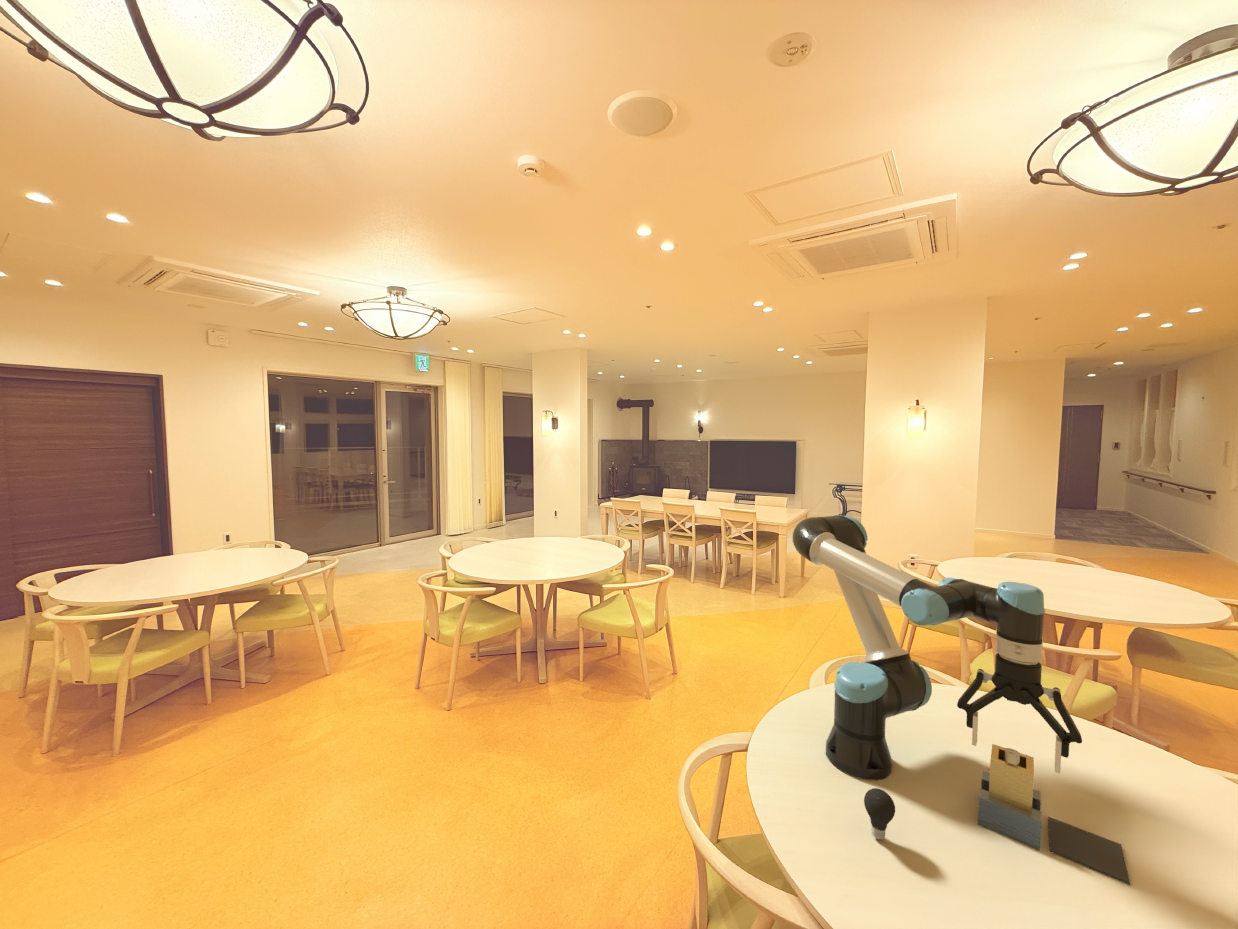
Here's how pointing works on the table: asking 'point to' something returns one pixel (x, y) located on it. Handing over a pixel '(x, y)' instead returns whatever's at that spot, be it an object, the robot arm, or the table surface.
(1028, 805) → the open wooden box
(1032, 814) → the vise
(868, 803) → the light bulb
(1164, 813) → the table surface
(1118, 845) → the mat
